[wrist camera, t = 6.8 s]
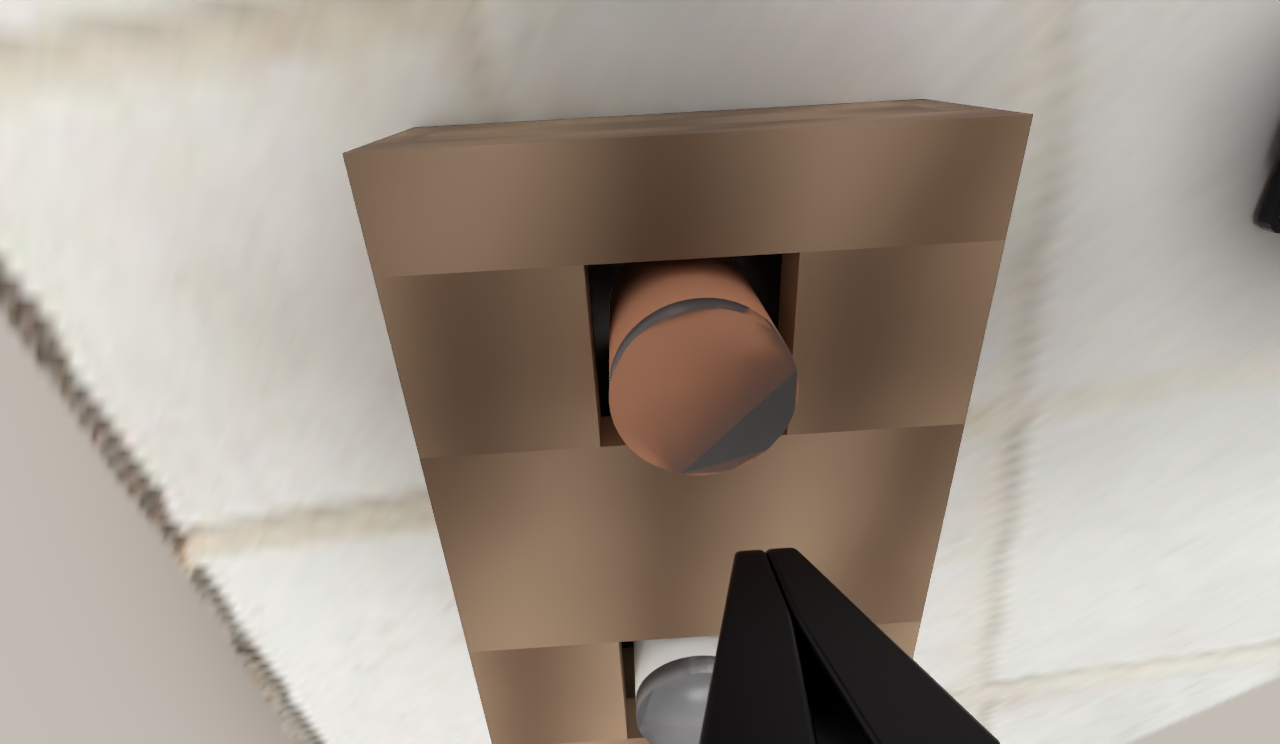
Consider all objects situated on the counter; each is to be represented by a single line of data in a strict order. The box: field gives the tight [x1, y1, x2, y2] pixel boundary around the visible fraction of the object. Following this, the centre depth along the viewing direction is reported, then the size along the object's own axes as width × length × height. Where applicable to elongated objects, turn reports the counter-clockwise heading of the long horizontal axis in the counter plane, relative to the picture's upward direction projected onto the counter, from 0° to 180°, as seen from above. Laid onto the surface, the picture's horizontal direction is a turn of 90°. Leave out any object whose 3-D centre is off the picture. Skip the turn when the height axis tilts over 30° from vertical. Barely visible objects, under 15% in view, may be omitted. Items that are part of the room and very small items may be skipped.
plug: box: [634, 635, 719, 744], centre depth 22 cm, size 4×4×6 cm
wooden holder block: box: [343, 99, 1033, 744], centre depth 20 cm, size 14×22×5 cm, turn 3°
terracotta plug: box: [609, 257, 799, 475], centre depth 16 cm, size 4×4×6 cm
